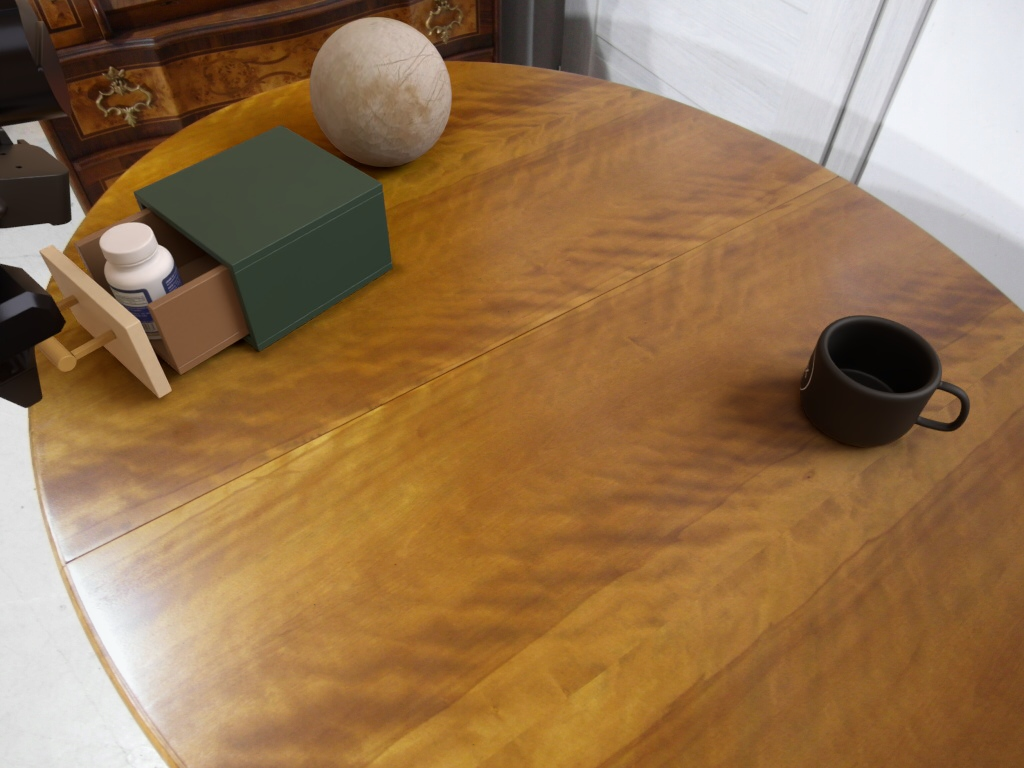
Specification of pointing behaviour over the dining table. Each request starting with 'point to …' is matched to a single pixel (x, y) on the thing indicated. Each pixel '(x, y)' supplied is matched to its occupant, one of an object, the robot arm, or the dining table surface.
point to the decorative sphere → (380, 92)
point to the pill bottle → (138, 270)
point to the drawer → (177, 315)
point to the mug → (873, 382)
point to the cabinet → (280, 226)
